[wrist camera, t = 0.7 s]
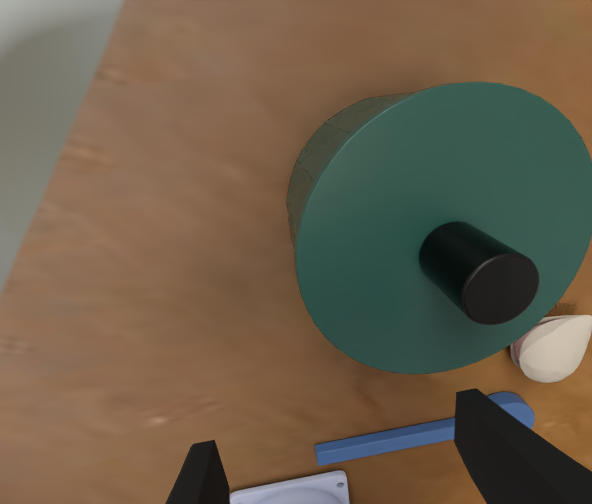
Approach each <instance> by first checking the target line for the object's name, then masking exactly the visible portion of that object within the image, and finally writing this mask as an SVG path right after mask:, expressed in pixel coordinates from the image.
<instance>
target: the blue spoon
mask: <svg viewBox="0 0 592 504" xmlns="http://www.w3.org/2000/svg"><path fill="white" fill-rule="evenodd" d="M487 397H488V398H490V399H491V400H492V401H494V402H495V403H496V404H498V405H499V406H500V407H501V408H503V409H504V410H505V411H507V412H508V413H509V414H511V415H512V416H513V417H515V418H516V419H517V420H519V421H520V422H521V423H523V424H524V425H525V426H527V427H528V428H529V429H531V428H532V427H533V424H534V419H535V418H534V413H533V411H532V409H531V408H530V407H529V406H528V404H527V403H526V402H525V401H524V400H523V399H522V398H521V397H520V396H519V395H517V394H514V393H511V392H499V393H495V394H492V395H489V396H487ZM454 431H455V418H449V419H444V420H439V421H434V422H429V423H424V424H419V425H414V426H409V427H403V428H398V429H393V430H388V431H383V432H378V433H373V434H368V435H363V436H357V437H352V438H347V439H342V440H337V441H332V442H327V443H322V444H317V445H315V450H316V456H317V462H318V466H321V465H326V464H331V463H336V462H341V461H346V460H351V459H356V458H361V457H366V456H371V455H376V454H381V453H386V452H391V451H396V450H401V449H406V448H411V447H416V446H421V445H426V444H432V443H437V442H442V441H447V440H452V439H454Z"/></svg>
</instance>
